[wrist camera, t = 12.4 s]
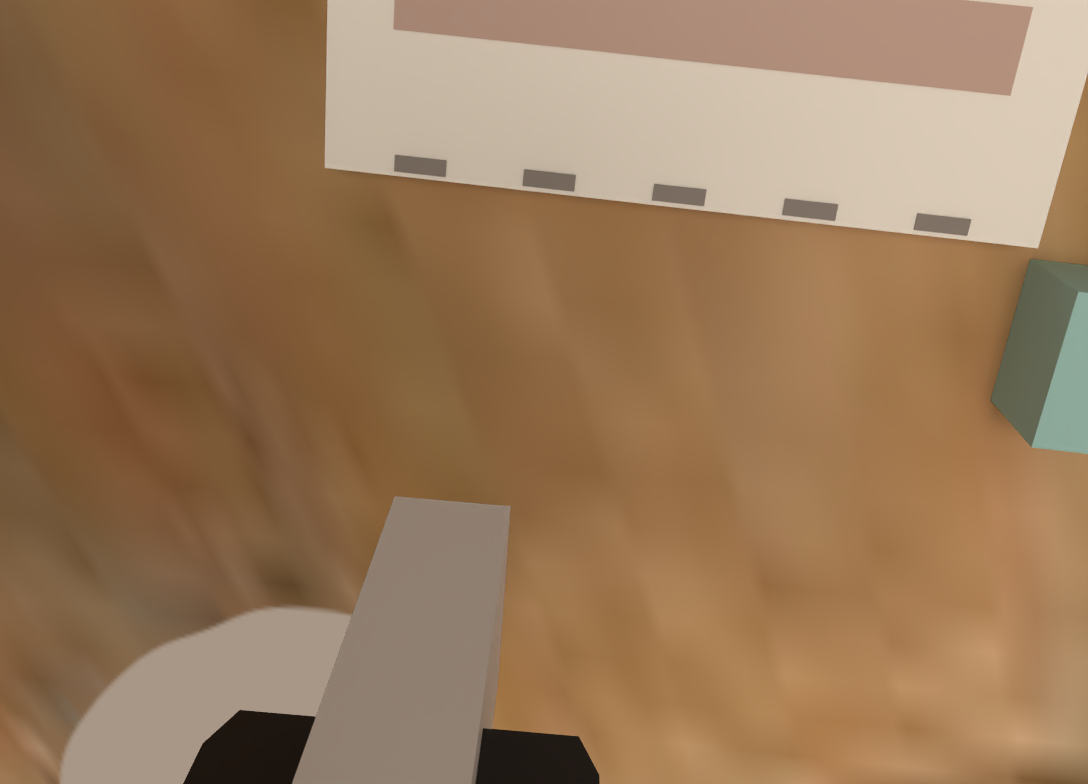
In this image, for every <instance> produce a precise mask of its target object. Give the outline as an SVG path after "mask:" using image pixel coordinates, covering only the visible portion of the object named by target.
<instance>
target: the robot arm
mask: <svg viewBox="0 0 1088 784" xmlns="http://www.w3.org/2000/svg"><path fill="white" fill-rule="evenodd" d="M510 508H511V506H503V505H491V504H479V503H468V502H456V501H444V500H433V499H421V498H409V497H398V496H395V497H394V500H393V503H392V505H391V508H390V511H389V514H388V516H387V519H386V522H385V525H384V528H383V530H382V533H381V536H380V539H379V542H378V544H377V547H376V550H375V553H374V556H373V558H372V561H371V564H370V567H369V570H368V572H367V575H366V578H365V581H364V584H363V586H362V589H361V592H360V595H359V598H358V600H357V603H356V606H355V609H354V612H353V614H352V617H351V620H350V623H349V626H348V628H347V631H346V634H345V637H344V640H343V643H342V645H341V648H340V651H339V654H338V657H337V659H336V662H335V665H334V668H333V670H332V673H331V676H330V679H329V681H328V684H327V687H326V690H325V693H324V695H323V698H322V701H321V704H320V707H319V710H318V713H317V715H316V717H313V716H301V715H290V714H278V713H267V712H255V711H243V710H240V711H238V712H237V713H236V714H235V715H234V716H233V717H232V718H231V719H230V720H228V721H227V722H226V723H225V724H224V725H223V726H222V727H221V728H220V729H218V730H217V731H216V732H215V733H214V734H213V735H212V736H211V737H210V738H209V739H207V740H206V741H205V742H204V743H203V744H202V746H201V748H200V750H199V752H198V754H197V757H196V759H195V761H194V763H193V765H192V767H191V769H190V771H189V773H188V775H187V777H186V779H185V781H184V783H183V784H599V774H598V772H597V770H596V768H595V766H594V764H593V763H592V761H591V759H590V757H589V755H588V753H587V751H586V749H585V747H584V746H583V744H582V742H581V740H580V738H579V737H578V736H566V735H555V734H543V733H532V732H520V731H509V730H498V729H492V725H493V717H494V709H495V701H496V693H497V685H498V676H499V662H500V648H501V634H502V620H503V606H504V592H505V578H506V564H507V550H508V536H509V522H510Z"/></svg>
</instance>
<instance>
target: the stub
mask: <svg viewBox="0 0 1088 784" xmlns="http://www.w3.org/2000/svg"><path fill="white" fill-rule="evenodd" d="M991 402H992V403H993V404H994V405H995V406H996V407H997V408H998V410H999V411H1000V412H1001V413H1002V414H1003V415H1004V416H1005V418H1006V419H1007V420H1008V421H1009V422H1010V423H1011V424H1012V426H1013V427H1014V428H1015V429H1016V430H1017V431H1018V432H1019V434H1020V435H1021V436H1022V437H1023V438H1024V439H1025V440H1026V442H1027V443H1028V444H1029V445H1030V446H1031V447H1033V448H1042V449H1050V450H1059V451H1068V452H1076V453H1085V454H1088V265H1080V264H1071V263H1062V262H1053V261H1044V260H1035V259H1030V261H1029V265H1028V269H1027V272H1026V276H1025V279H1024V283H1023V286H1022V290H1021V294H1020V297H1019V301H1018V304H1017V308H1016V311H1015V315H1014V319H1013V322H1012V326H1011V329H1010V333H1009V336H1008V340H1007V344H1006V347H1005V351H1004V354H1003V358H1002V361H1001V365H1000V369H999V372H998V376H997V379H996V383H995V386H994V390H993V394H992V397H991Z"/></svg>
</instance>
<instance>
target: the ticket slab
mask: <svg viewBox="0 0 1088 784" xmlns="http://www.w3.org/2000/svg"><path fill="white" fill-rule="evenodd" d="M1087 73H1088V0H328V8H327V64H326V120H325V168H330V169H339V170H348V171H357V172H366V173H375V174H384V175H393V176H401V177H410V178H419V179H428V180H437V181H446V182H455V183H463V184H472V185H481V186H490V187H499V188H508V189H517V190H526V191H534V192H543V193H552V194H561V195H570V196H579V197H588V198H596V199H605V200H614V201H623V202H632V203H641V204H650V205H659V206H667V207H676V208H685V209H694V210H703V211H712V212H721V213H730V214H738V215H747V216H756V217H765V218H774V219H783V220H792V221H800V222H809V223H818V224H827V225H836V226H845V227H854V228H863V229H871V230H880V231H889V232H898V233H907V234H916V235H925V236H934V237H942V238H951V239H960V240H969V241H978V242H987V243H996V244H1004V245H1013V246H1022V247H1031V248H1038V246H1039V243H1040V239H1041V236H1042V232H1043V229H1044V225H1045V222H1046V218H1047V215H1048V211H1049V208H1050V204H1051V200H1052V197H1053V193H1054V190H1055V186H1056V183H1057V179H1058V176H1059V172H1060V169H1061V165H1062V162H1063V158H1064V155H1065V151H1066V148H1067V144H1068V140H1069V137H1070V133H1071V130H1072V126H1073V123H1074V119H1075V116H1076V112H1077V109H1078V105H1079V102H1080V98H1081V95H1082V91H1083V88H1084V84H1085V80H1086V77H1087Z"/></svg>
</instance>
